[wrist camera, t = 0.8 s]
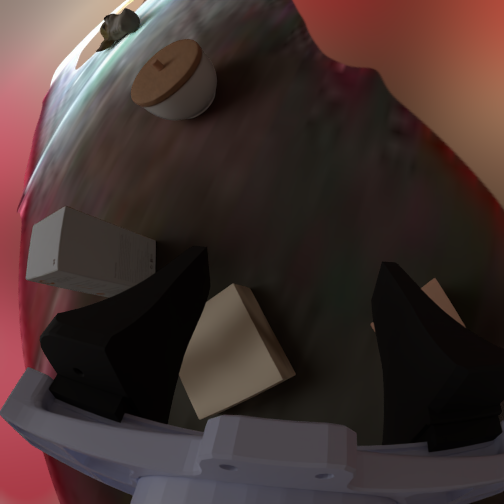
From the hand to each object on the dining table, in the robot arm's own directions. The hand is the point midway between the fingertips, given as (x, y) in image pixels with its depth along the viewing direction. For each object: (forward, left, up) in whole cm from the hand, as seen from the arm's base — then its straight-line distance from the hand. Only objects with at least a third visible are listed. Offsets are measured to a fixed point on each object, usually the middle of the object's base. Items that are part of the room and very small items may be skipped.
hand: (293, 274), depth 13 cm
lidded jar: (+33, +2, -14) cm, 36 cm away
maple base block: (+2, +12, -14) cm, 19 cm away
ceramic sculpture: (+82, +7, -14) cm, 83 cm away
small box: (+17, +20, -14) cm, 29 cm away
